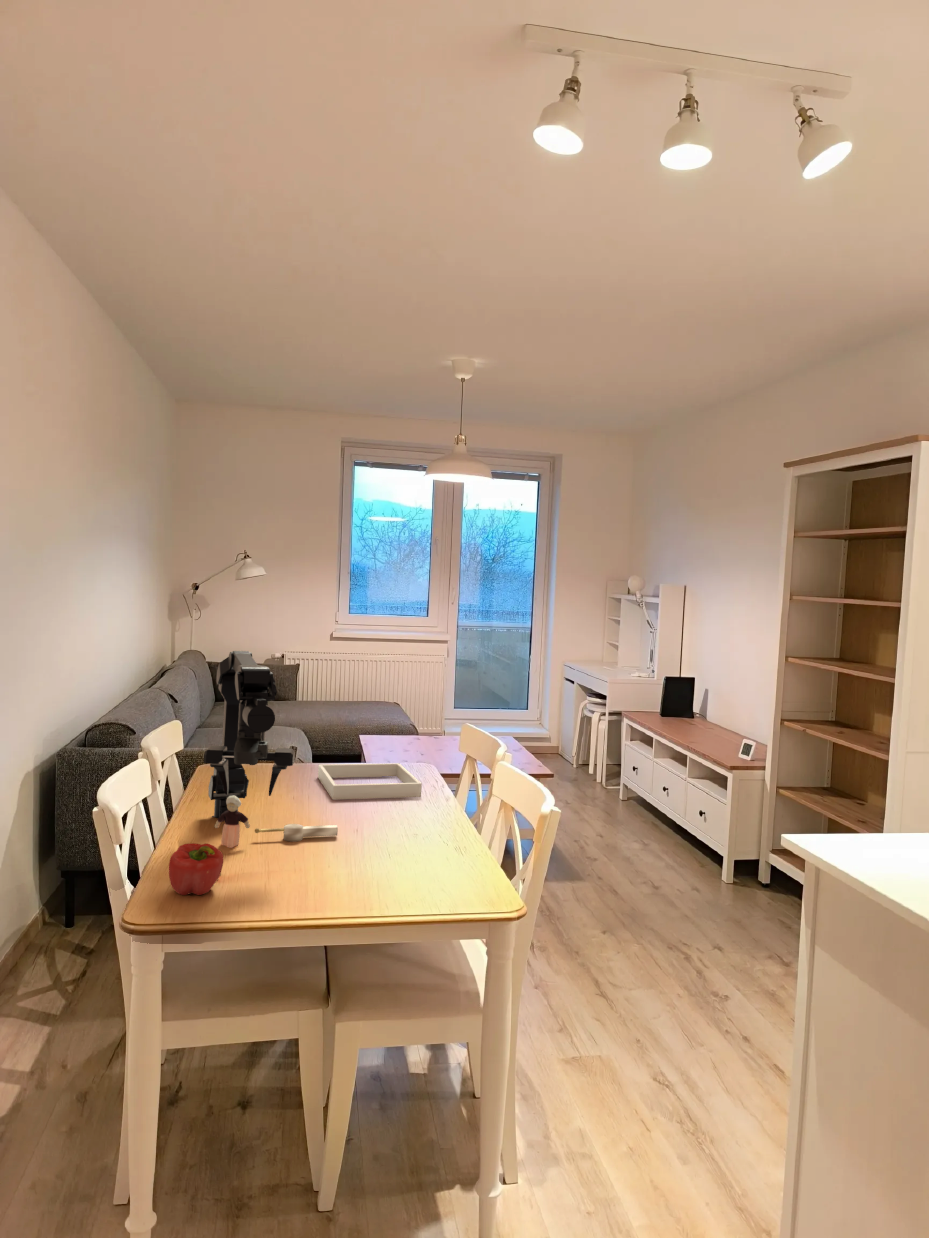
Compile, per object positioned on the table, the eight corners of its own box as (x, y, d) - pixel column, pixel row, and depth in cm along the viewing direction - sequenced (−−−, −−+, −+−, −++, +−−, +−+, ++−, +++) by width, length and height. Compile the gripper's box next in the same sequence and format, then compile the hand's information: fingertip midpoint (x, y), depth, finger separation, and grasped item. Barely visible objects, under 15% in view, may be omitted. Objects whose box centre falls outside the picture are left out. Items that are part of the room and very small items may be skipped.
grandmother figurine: (213, 854, 183) (215, 798, 182) (213, 848, 186) (216, 793, 186) (248, 853, 185) (251, 797, 184) (248, 847, 188) (251, 793, 188)
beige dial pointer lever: (254, 843, 187) (255, 831, 187) (253, 837, 191) (253, 825, 191) (338, 839, 194) (338, 827, 193) (334, 833, 198) (335, 822, 198)
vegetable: (234, 894, 161) (237, 843, 161) (186, 907, 153) (188, 854, 153) (204, 878, 168) (207, 830, 168) (157, 890, 161) (159, 840, 160)
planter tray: (317, 777, 257) (318, 764, 257) (398, 775, 266) (399, 763, 266) (332, 799, 233) (333, 785, 233) (421, 796, 242) (421, 783, 241)
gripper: (200, 729, 170) (196, 803, 171) (292, 732, 173) (288, 806, 173) (210, 719, 181) (207, 790, 182) (296, 723, 184) (293, 792, 184)
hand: (248, 794), depth 180 cm, fingers open, 9 cm apart
